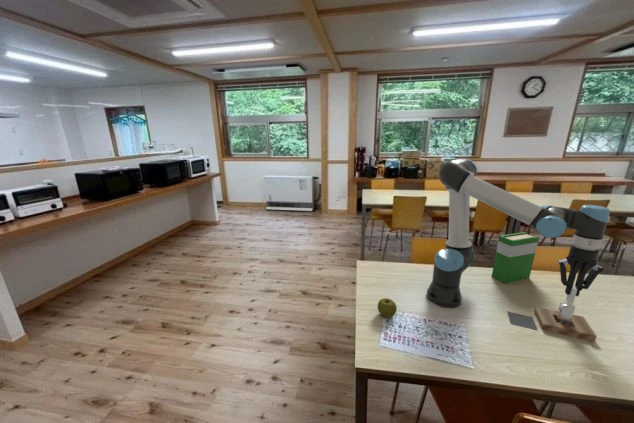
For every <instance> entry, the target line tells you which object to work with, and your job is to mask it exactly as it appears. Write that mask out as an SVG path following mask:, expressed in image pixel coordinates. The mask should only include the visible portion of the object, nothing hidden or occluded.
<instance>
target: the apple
mask: <svg viewBox="0 0 634 423" xmlns="http://www.w3.org/2000/svg"><path fill="white" fill-rule="evenodd" d="M377 310H378V313H379V315H380V316H382V317H384V318H388V319H391V318H392V317H394V316H395V315H396V313H397V304H396V302H395V301H394V300H392V298H391V299H390V298H389V297H388V298H387V297H385V298H381V299H380V300H379V301H378V303H377Z"/></svg>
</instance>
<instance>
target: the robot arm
mask: <svg viewBox="0 0 634 423" xmlns="http://www.w3.org/2000/svg"><path fill="white" fill-rule="evenodd" d="M477 174H478V167H477V164H476V163H475V162H473V161H472V160H471V159H467V158H457V159H456V158H455V159H454V160H449V161H447V162H444V164H442V165H441V167H440V168H439V170H438V179H439V182H440V183H441V184H442V185H443V186H444V187H445V189H446V190H447V191H448V194H449V195H448V196H449V198H448V201H449V202H448V240H446V241H445V249H444V248H443V249H439V250H438V251H437V252H436V254H435V256H434V259H433V260H434V263H433V274H432V281H431V282H430V285H429V286H428V288H427V290H426V298H427V299H428V301H430V302H431V303H433V304H434V305H436V306H440V307H442V308H448V309H449V308H450V309H451V308H452V309H454V308H458V307H459V306H461V305H462V300H463V298H462V293H461V288H460V285H461V279H462V275H463V273H464V272H465V271H466V270H467V269H468V268H469V267H470V266H471V265H472V264H473V261H474V260H475V251H474V249H473V243H472V242H471V241H470V240H469V238H470V236H469V234H470V233H469V232H470V198H471V197H472V198H473V199H475V200H478V201H479V202H482V203H483V204H486V205H488V206H489V207H492V208H494V209H496V210H498V211H500V212H501V213H503V214H506V215H507V216H510V217H512V218H514V219H515V220H518V221H520V222H521V223H524V224H526V225H528V226H530V227H532V228H534V229H535V230H536V231H537V233H538V234H540V235H541V236H543V237H545V238H548V239H554V238H555V239H556V238H558V237H559V236H561V235H562V234H564V233H565V231H566V229H569V230H574V232H573V233H574V234H573V237H572V240H571V245H570V248H569V252H568V255H567V256H566V258H564V259H558V260H557V263H558V265H559V272H560V282H561V283H562V285H563V286H565V290H564V293H565V294H566V297H565V300H566V301H565V302H567V303H569V304H572V305H574V301H575V298H576V297H579V296H580V292H581V291H583V290H588V289H589V288H590V286H591V285H592V283H593V282H594V281H595V279H596V278H597V276H598V275H599V274H600V273H602V272H603V271H604V270H605V269H604V268H603V267H602V266H601V265H598V264H597V258H598V255H599V252H600V250H599V249H601V245H602V242H603V239H604V236H605V232H606V229H607V226H608V223H609V219H610V214H611V210H610V209H609V208H608V207H605V206H602V205H596V204H583V205H582V206H581V207H580V209H579V208H578V209H574V208H567V207H560V206H554V205H545V204H544V205H542V204H541V205H538V204H535V203H534V202H530V201H529V200H526V199H525V198H522V197H520V196H518V195H515V194H513V193H511V192H509V191H507V190H505V189H503V188H501V187H498V186H496V185H494V184H492V183H490V182H487V181H486V180H483V179H481V178H480V177H477ZM567 265H569V269H570V270H569V272H568V273H569V274H568V276H567V267H566V266H567ZM589 270H590V271H589ZM588 271H589V273H588ZM587 273H588V274H587ZM575 280H576V281H575Z"/></svg>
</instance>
